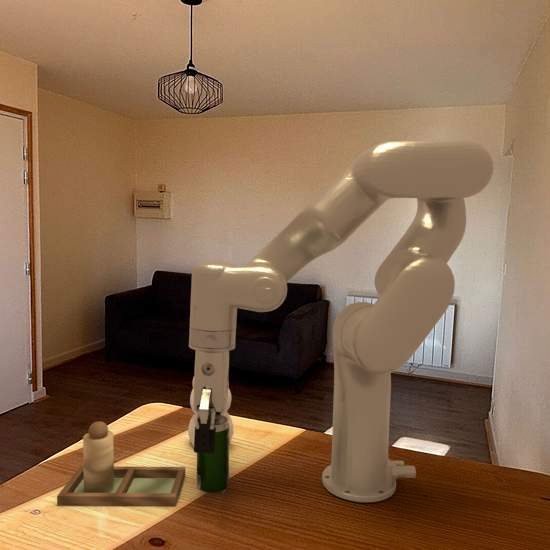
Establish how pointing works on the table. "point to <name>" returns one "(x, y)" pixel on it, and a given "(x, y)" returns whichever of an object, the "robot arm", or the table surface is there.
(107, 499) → the caddy
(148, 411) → the table surface
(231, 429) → the cat figurine
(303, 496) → the table surface
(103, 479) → the pepper mill
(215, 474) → the guarana soda can
